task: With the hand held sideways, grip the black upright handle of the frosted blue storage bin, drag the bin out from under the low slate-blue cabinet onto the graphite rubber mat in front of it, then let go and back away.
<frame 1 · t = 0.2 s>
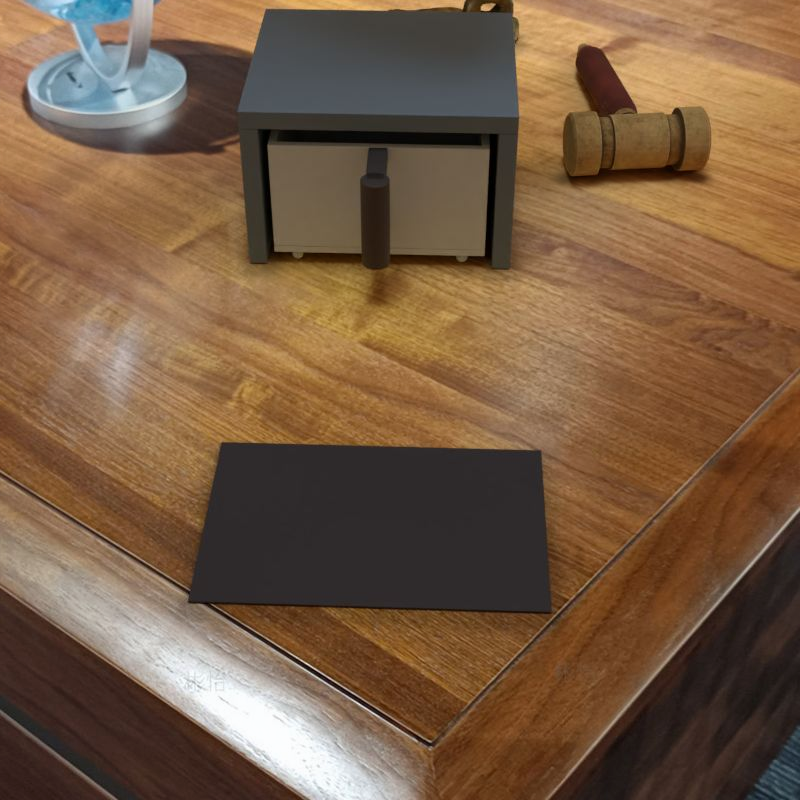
gavel: (608, 119, 107), on the table
bin: (383, 216, 95), on the table
seal: (433, 45, 117), on the table
cabinet: (384, 205, 96), on the table
mat: (375, 522, 72), on the table
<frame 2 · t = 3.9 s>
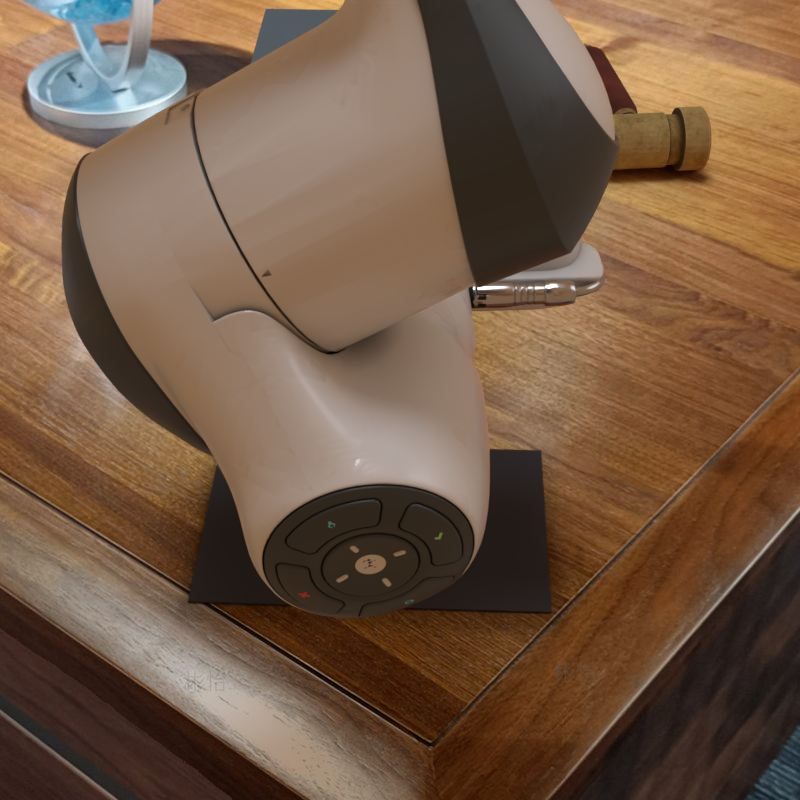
hand: (360, 159, 68), 17 cm above the table, tool horizontal, fingers open, 8 cm apart
nothing on the table moved.
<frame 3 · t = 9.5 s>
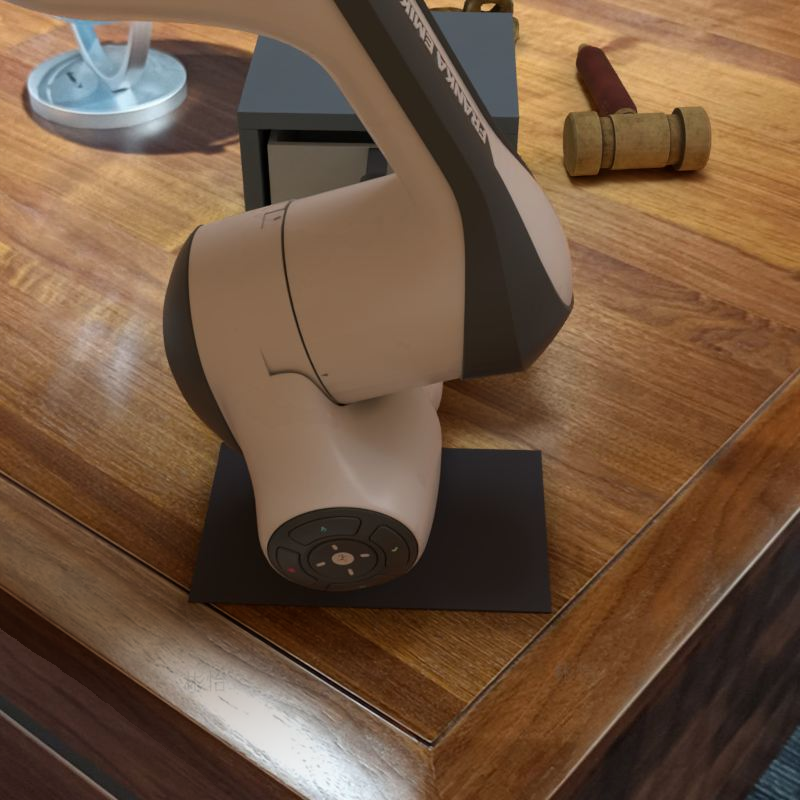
hand: (375, 214, 84), 6 cm above the table, tool horizontal, fingers closed on bin
bin: (383, 216, 95), on the table, touching gripper
everything else where it was.
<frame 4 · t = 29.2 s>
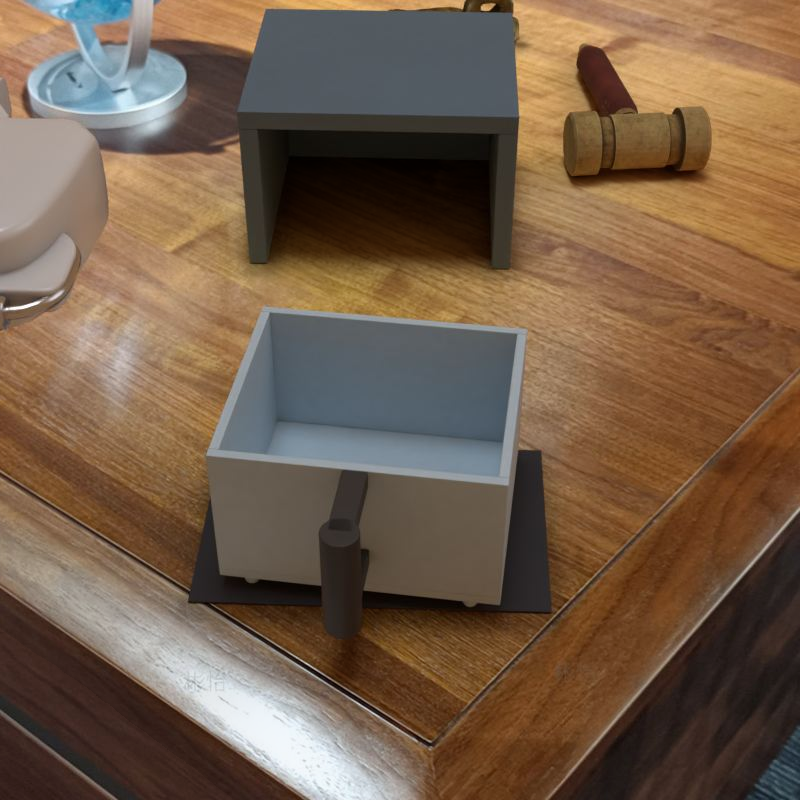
bin: (377, 517, 72), resting on mat
everything else where it was.
at the end: bin inside the target area on the mat (0.3 cm from its centre), point 0.1 cm above the mat's base; the gripper is holding nothing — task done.
